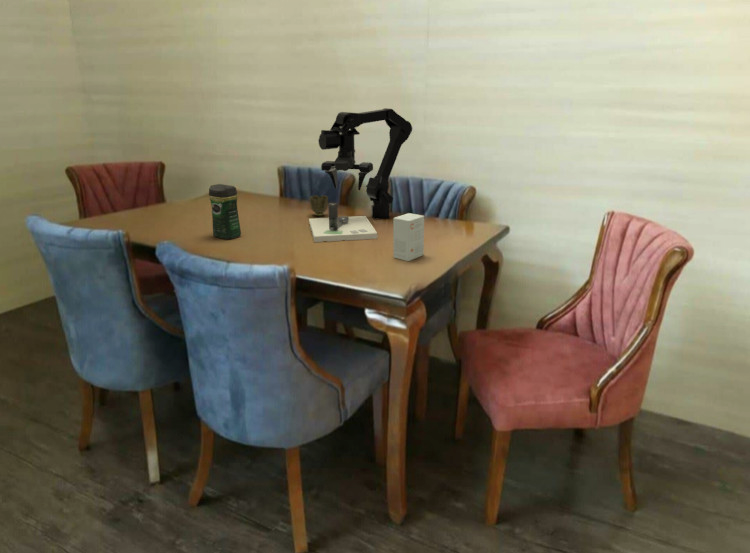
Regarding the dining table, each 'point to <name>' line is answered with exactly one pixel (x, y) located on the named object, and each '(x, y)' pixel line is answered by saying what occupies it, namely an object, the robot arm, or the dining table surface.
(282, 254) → the dining table surface
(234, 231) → the coffee jar
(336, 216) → the dark knobbed cylinder
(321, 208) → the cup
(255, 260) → the dining table surface
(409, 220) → the small box
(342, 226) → the dial plate
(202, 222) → the dining table surface
